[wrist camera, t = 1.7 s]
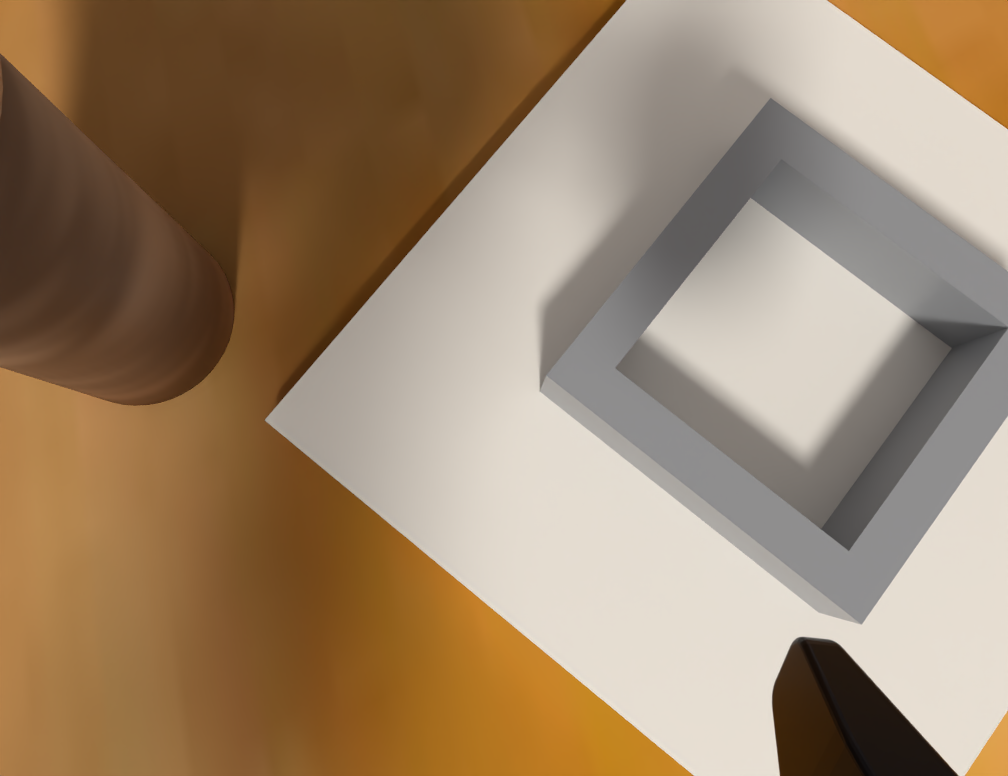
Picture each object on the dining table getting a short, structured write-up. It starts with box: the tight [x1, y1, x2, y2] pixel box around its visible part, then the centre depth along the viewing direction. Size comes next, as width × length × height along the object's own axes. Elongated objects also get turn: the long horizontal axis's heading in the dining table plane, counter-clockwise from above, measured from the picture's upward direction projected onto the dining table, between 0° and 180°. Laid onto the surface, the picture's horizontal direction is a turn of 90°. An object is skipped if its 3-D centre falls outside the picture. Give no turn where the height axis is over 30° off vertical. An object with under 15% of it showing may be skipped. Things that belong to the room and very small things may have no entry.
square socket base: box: [265, 0, 1008, 776], centre depth 22 cm, size 20×20×4 cm
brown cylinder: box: [0, 54, 234, 405], centre depth 17 cm, size 6×6×13 cm
